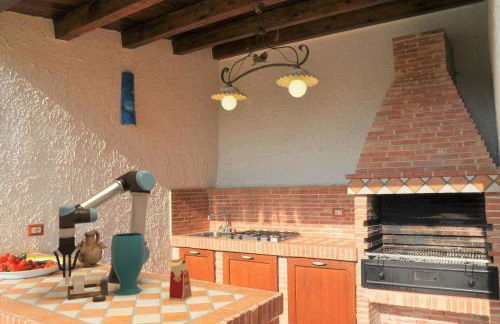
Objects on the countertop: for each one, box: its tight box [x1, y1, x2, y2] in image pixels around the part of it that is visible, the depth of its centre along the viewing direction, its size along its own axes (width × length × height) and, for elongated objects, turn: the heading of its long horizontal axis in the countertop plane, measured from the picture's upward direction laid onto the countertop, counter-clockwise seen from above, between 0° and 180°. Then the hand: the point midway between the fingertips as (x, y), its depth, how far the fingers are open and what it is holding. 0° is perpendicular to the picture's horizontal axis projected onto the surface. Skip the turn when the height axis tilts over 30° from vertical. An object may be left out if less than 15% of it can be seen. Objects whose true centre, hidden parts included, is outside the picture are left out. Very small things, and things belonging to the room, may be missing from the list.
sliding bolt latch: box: [66, 278, 109, 301], centre depth 228 cm, size 19×7×7 cm, turn 116°
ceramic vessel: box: [75, 228, 108, 268], centre depth 309 cm, size 18×19×25 cm
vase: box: [110, 232, 146, 296], centre depth 236 cm, size 17×17×30 cm
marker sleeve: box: [72, 273, 85, 294], centre depth 226 cm, size 5×4×8 cm
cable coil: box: [92, 295, 107, 303], centre depth 219 cm, size 6×6×2 cm
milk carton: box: [168, 257, 193, 301], centre depth 222 cm, size 9×9×20 cm
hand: (67, 283), depth 224 cm, fingers closed
